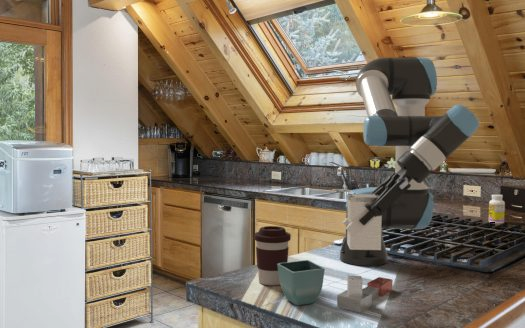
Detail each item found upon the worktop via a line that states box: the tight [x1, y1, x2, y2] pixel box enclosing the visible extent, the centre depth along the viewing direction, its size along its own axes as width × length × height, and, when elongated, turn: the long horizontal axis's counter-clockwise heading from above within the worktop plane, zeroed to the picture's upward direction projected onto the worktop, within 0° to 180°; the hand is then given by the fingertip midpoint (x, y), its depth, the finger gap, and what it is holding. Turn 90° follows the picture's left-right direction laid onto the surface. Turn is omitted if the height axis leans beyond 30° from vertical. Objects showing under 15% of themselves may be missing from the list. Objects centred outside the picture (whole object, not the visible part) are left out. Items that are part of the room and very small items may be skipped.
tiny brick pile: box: [336, 275, 393, 314], centre depth 128 cm, size 6×21×7 cm, turn 143°
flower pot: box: [277, 259, 326, 306], centre depth 126 cm, size 9×9×9 cm
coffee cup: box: [253, 225, 292, 287], centre depth 141 cm, size 10×10×15 cm
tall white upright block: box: [347, 193, 382, 250], centre depth 121 cm, size 7×7×12 cm
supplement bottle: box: [488, 194, 506, 225], centre depth 239 cm, size 7×7×13 cm
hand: (348, 229), depth 122 cm, fingers closed on tall white upright block, 7 cm apart
